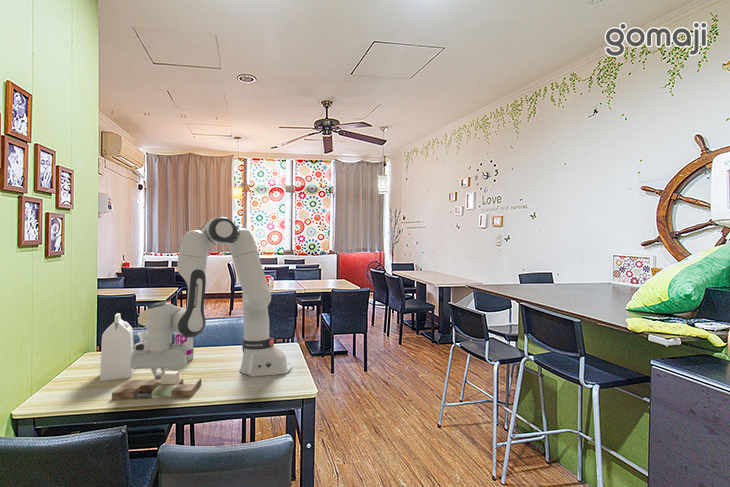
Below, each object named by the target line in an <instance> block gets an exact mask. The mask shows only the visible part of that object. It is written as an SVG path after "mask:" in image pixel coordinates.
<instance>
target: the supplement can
mask: <svg viewBox="0 0 730 487" xmlns="http://www.w3.org/2000/svg"><path fill="white" fill-rule="evenodd" d="M174 344H183V345H185V346H186V347H187V353H186V357H187V362H190V361H192V360H193V359H194V337H186V336H184V335H182V334H181V333H178V332H174Z"/></svg>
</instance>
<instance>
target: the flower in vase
mask: <svg viewBox="0 0 730 487" xmlns="http://www.w3.org/2000/svg"><path fill="white" fill-rule="evenodd" d="M147 311H148V309H146V310H144V311H141V312H140V314H139V316H138V317H137V321H138V324H139V325H141V326H144V327H146V322H147ZM138 329H141V330H143V332H142V331H141V332H137V333H136V334H137V336H138V338H139V342H141V341H144V340H146V337H147V333H148V330H147V328H146V329H145V328H142V327H139V326H138Z"/></svg>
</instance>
